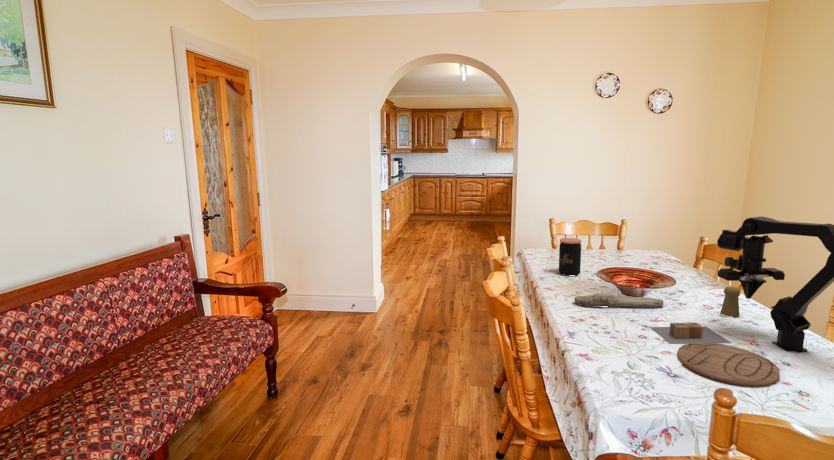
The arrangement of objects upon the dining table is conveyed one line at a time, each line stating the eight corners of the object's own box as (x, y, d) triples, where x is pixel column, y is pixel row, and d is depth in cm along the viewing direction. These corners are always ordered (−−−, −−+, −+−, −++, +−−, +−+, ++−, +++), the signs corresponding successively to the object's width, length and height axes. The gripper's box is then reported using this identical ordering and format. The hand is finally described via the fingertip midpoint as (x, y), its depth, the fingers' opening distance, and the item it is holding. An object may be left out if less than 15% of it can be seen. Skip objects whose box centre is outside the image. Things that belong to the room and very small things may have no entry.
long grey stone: (667, 314, 177) (657, 306, 187) (669, 301, 177) (659, 294, 186) (577, 307, 182) (572, 300, 191) (578, 295, 181) (573, 288, 191)
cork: (742, 318, 167) (745, 290, 165) (724, 317, 168) (727, 289, 166) (734, 312, 173) (737, 285, 171) (717, 311, 174) (720, 284, 172)
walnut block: (703, 327, 149) (676, 327, 149) (702, 338, 150) (675, 338, 150) (696, 322, 153) (670, 322, 153) (695, 333, 154) (669, 333, 154)
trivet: (665, 367, 132) (666, 361, 132) (690, 341, 150) (690, 335, 149) (771, 398, 115) (772, 392, 114) (785, 365, 132) (786, 359, 132)
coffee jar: (554, 272, 234) (555, 239, 231) (569, 270, 238) (570, 237, 235) (568, 277, 224) (570, 242, 221) (584, 274, 229) (586, 240, 225)
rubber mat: (731, 344, 146) (732, 343, 145) (669, 344, 146) (669, 343, 146) (706, 327, 159) (706, 326, 159) (649, 328, 160) (649, 327, 160)
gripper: (763, 248, 157) (759, 290, 159) (709, 249, 157) (705, 291, 160) (788, 255, 146) (783, 301, 148) (730, 256, 146) (725, 301, 149)
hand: (747, 298), depth 152 cm, fingers closed
